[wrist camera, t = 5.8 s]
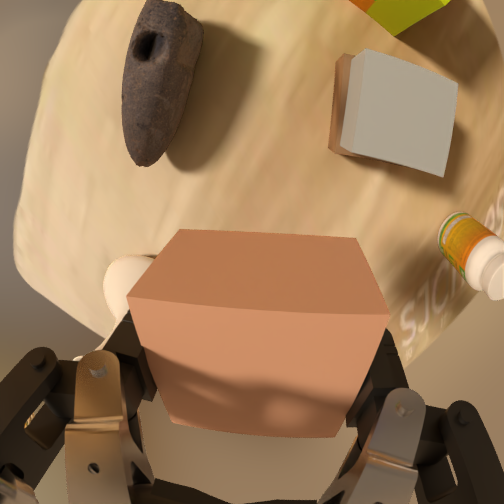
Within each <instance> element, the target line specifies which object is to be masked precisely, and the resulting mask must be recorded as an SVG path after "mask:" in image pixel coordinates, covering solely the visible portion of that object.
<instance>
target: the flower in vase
mask: <svg viewBox="0 0 504 504" xmlns="http://www.w3.org/2000/svg"><path fill="white" fill-rule="evenodd" d="M154 260H155V259H153V258H150V257H147V256H141V255H126V256H122V257H120V258H118V259H116V260H115V261H113V262H112V263H111V264H110V266H109V267H108V269H107V271H106V274H105V278H104V283H103V289H104V295H105V298H106V302H107V304H108V307H109V309H110V311H111V312H112V314H113V316H114V317H115V318H116V324H115V326H114V328H113V329H112V331H111V333H110V334H109V335H108V337H107V338H106V339H105V340H104V342H103V343H102V344H101V345H100V346H99V347H98V348H97V349H95V350H102V349H103V347H104V346H105V344H106V342H107V341H108V339H109V338H110V336H111V335H112V333H113V332H114V330H115V329H116V327H117V326H118V325H119V323H120V322H121V321H122V319H123V317H124V316H125V314H127V311H128V310H129V305H128V302H127V298H126V295H127V294H128V293H129V291H130V290H131V289H132V287H133V286H134V285H135V284H136V282H137V281H138V280H139V278H140V277H141V276H142V275H143V273H144V272H145V271H146V270H147V268H148V267H149V266H150V265H151V263H152V262H153V261H154ZM95 350H94V351H95ZM82 357H83V356H78V357H76V358H74V360H73V361H80V359H81V358H82ZM34 417H35V416H34V412H33V414H32V415H31V416H30V417H29V419H28V420H27V422H26V423H25V428H26V427H27V426H28V425H29V423H30V422H31V421H32V419H33V418H34Z"/></svg>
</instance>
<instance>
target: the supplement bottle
mask: <svg viewBox="0 0 504 504" xmlns="http://www.w3.org/2000/svg"><path fill="white" fill-rule="evenodd" d="M438 247H439V249H440V251H441V253H442V254H443V255H444V256H445V257H446V258H447V259H448V261H449V262H450V263H451V264H452V265H453V266H454V267H455V268H456V270H457V271H458V272H459V273H460V274H461V276H462V277H463V278H464V279H465V280H466V282H467V283H468V284H469V285H470V286H471V287H472V288H473V289H475V290H477V291H484V292H485V293H486V294H487V296H488V297H489V298H490V299H491V300H494V301H498V300H501V299H503V298H504V241H503V240H502V239H501V238H499V237H498V236H497V235H496V234H494V233H493V232H492V231H491V230H489V229H488V228H487V227H485V226H484V225H483V224H481V223H480V222H479V221H477V220H476V219H475V218H473V217H472V216H470V215H469V214H467V213H465V212H456V213H453V214H451V215H450V216H448V217H447V218H446V219H445V221H444V222H443V223H442V225H441V227H440V229H439V233H438Z"/></svg>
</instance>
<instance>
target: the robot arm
mask: <svg viewBox="0 0 504 504" xmlns="http://www.w3.org/2000/svg"><path fill="white" fill-rule="evenodd" d="M156 391H157V386H156V384H155V381H154V379H153V376H152V373H151V371H150V368H149V365H148V362H147V358H146V354H145V351H144V347H143V346H141V343H140V340H139V337H138V334H137V331H136V328H135V325H134V322H133V319H132V315H131V312H130V309H129V310H128V311H127V314H125V316H124V317H123V319H122V321H121V322H120V323H119V325H118V326H117V327H116V329H115V330H114V332H113V333H112V335H111V336H110V338H109V339H108V341H107V342H106V344H105V346H104V347H103V349H102V350H95V351H92V352H89V353H87V354H86V355H84V356H83V357H82V358H81V359H80V361H67V360H58V358H57V357H56V355H55V353H54V351H52V350H51V349H50V348H47V347H38V348H35V349H33V350H31V351H30V352H28V353H27V354H26V355H25V356H24V357H23V359H21V360H20V361H19V363H18V364H17V365H16V366H15V367H14V368H13V369H12V370H11V371H10V372H9V374H8V375H7V376H6V377H5V378H4V379H3V380H2V381H1V382H0V504H39V502H38V500H37V499H36V496H35V493H34V490H35V488H36V486H37V485H38V483H39V482H40V480H41V478H42V477H43V475H44V474H45V472H46V471H47V469H48V468H49V466H50V465H51V463H52V462H53V460H54V459H55V457H56V456H57V454H58V453H59V451H60V450H61V448H62V447H63V445H64V444H65V468H66V482H67V492H68V500H69V504H231V503H228V502H225V501H223V500H220V499H218V498H215V497H213V496H210V495H208V494H206V493H203V492H201V491H199V490H197V489H194V488H191V487H187V486H182V485H179V484H174V483H170V482H167V481H163V480H160V479H157V478H154V475H153V471H152V469H151V466H150V463H149V461H148V458H147V454H146V449H145V443H144V438H143V432H142V426H141V419H140V412H139V409H138V407H139V405H140V402H141V400H142V399H144V400H148V401H151V402H152V401H153V398H154V396H155V394H156ZM42 401H44V402H45V404H44V405H43V406H42V408H41V409H40V410H39V411H38V413H37V414H36V415H35V417H34V418H33V419H32V421H31V422H30V423H29V425H28V426H27V427H26V428H25V423H26V422H27V420H28V419H29V417H30V416H31V415H32V414H33V412H34V411H35V410H36V408H37V407H38V406H39V405H40V403H41V402H42ZM346 426H347V427H357V431H358V435H357V436H356V437H355V439H354V441H353V443H352V445H351V447H350V449H349V451H348V453H347V455H346V457H345V460H344V461H343V464H342V465H341V467H340V469H339V471H338V473H337V475H336V477H335V478H334V480H333V482H332V483H331V485H330V486H329V487H328V488H327V490H326V491H325V492H324V494H323V495H322V496H321V498H320V499H319V501H318V503H317V500H271V501H264V502H255V503H246V504H409V502H410V499H411V496H412V493H413V491H414V489H415V493H416V497H417V501H418V504H504V472H503V469H502V467H501V464H500V461H499V459H498V456H497V454H496V451H495V449H494V447H493V444H492V442H491V439H490V437H489V435H488V433H487V430H486V428H485V426H484V424H483V422H482V420H481V418H480V416H479V413H478V411H477V410H476V408H475V407H474V406H473V405H472V404H470V403H468V402H466V401H462V400H459V401H456V402H454V403H452V404H451V405H450V407H449V408H448V409H442V408H437V407H432V406H428V405H425V402H424V400H423V399H422V397H421V396H420V395H419V394H418V393H417V392H415V391H414V390H411V389H409V386H408V383H407V380H406V376H405V373H404V370H403V367H402V364H401V361H400V358H399V356H398V352H397V349H396V347H395V343H394V340H393V337H392V335H391V333H390V332H389V331H388V330H387V328H385V331H384V334H383V336H382V339H381V341H380V344H379V347H378V349H377V351H376V354H375V356H374V359H373V361H372V363H371V366H370V368H369V370H368V373H367V375H366V377H365V379H364V382H363V384H362V386H361V388H360V390H359V392H358V394H357V396H356V398H355V400H354V402H353V404H352V406H351V408H350V409H349V411H348V412H347V414H346ZM447 455H449V456H450V459H451V462H452V465H453V468H454V471H455V474H456V477H457V480H458V485H457V486H456V484H455V481H454V477H453V475H452V472H451V469H450V465H449V463H448V460H447V457H446V456H447Z"/></svg>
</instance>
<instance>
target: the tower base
mask: <svg viewBox="0 0 504 504" xmlns="http://www.w3.org/2000/svg"><path fill="white" fill-rule="evenodd" d="M354 57H355V56H354V55H349V54H343V55H342V56H341V57H340V58H339V59H338V60H337V61H336V66H335V80H334V93H333V105H332V116H331V126H330V135H329V144H328V148H329V149H330V150H331V151H333V152H334V153H337V154H343V155H349V156H355V157H361V158H366V159H372V160H377V161H382V162H386V163H391V164H396V165H400V166H404V165H401V164H397V163H393V162H390V161H386V160H382V159H378V158H374V157H370V156H365V155H361V154H357V153H352V152H350V151H348V150H346V149H345V148H343V147H341V146H340V141H341V135H342V129H343V122H344V115H345V108H346V101H347V94H348V86H349V77H350V69H351V59H353V58H354ZM405 167H408V166H405ZM409 168H411V167H409ZM413 169H415V168H413ZM417 170H418V169H417Z"/></svg>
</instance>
